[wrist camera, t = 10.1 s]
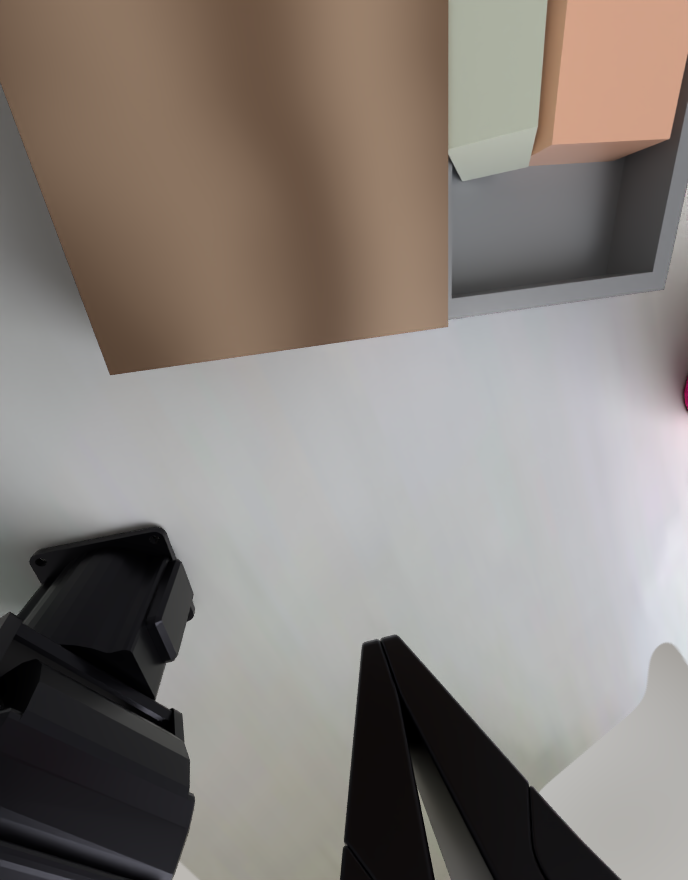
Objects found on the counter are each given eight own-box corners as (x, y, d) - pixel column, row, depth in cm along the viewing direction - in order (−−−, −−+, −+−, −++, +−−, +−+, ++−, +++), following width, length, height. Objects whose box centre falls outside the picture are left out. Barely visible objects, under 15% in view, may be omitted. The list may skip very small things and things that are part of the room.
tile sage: (445, 150, 11) (537, 126, 10) (445, -94, 9) (558, -153, 8) (462, 181, 15) (528, 166, 14) (463, 19, 13) (540, -11, 12)
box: (408, 317, 17) (433, 321, 15) (386, -218, 11) (423, -383, 8) (607, 290, 19) (663, 289, 16) (687, -200, 13) (802, -338, 10)
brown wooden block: (156, 352, 16) (110, 375, 11) (-31, -242, 10) (-299, -715, 5) (402, 318, 17) (448, 326, 13) (377, -218, 11) (448, -571, 7)
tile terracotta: (669, 138, 14) (612, 161, 16) (709, -51, 12) (638, 5, 14) (552, 144, 13) (510, 167, 15) (573, -55, 11) (522, 4, 13)
